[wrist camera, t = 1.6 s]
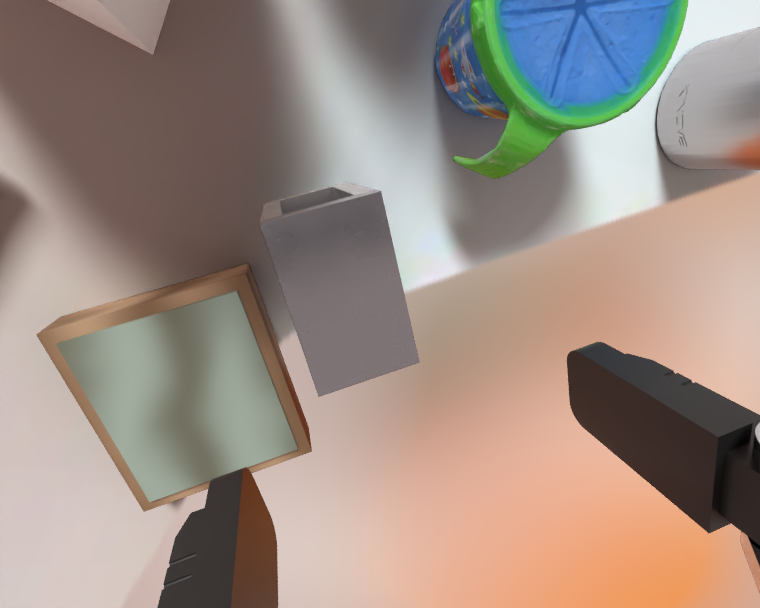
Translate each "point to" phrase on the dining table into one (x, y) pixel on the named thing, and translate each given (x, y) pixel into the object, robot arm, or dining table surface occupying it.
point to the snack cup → (551, 66)
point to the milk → (123, 18)
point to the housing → (340, 283)
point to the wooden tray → (182, 384)
